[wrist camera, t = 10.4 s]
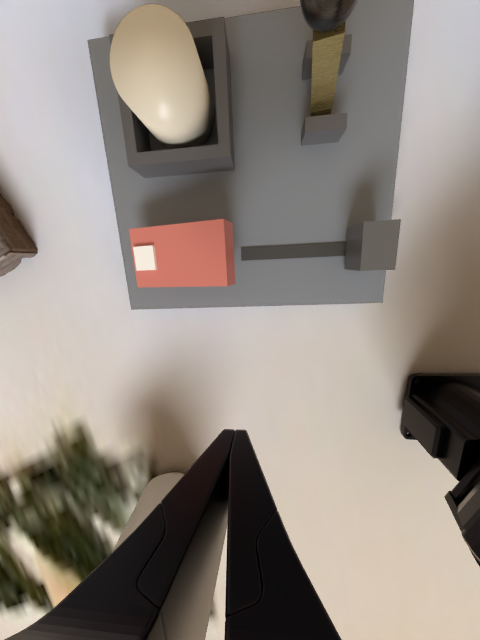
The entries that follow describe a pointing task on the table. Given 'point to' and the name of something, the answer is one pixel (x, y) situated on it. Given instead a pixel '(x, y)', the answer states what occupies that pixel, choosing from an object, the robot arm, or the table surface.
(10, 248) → the grey flat block
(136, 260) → the rocker
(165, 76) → the button
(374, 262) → the slider
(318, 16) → the lever
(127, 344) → the table surface
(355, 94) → the panel
